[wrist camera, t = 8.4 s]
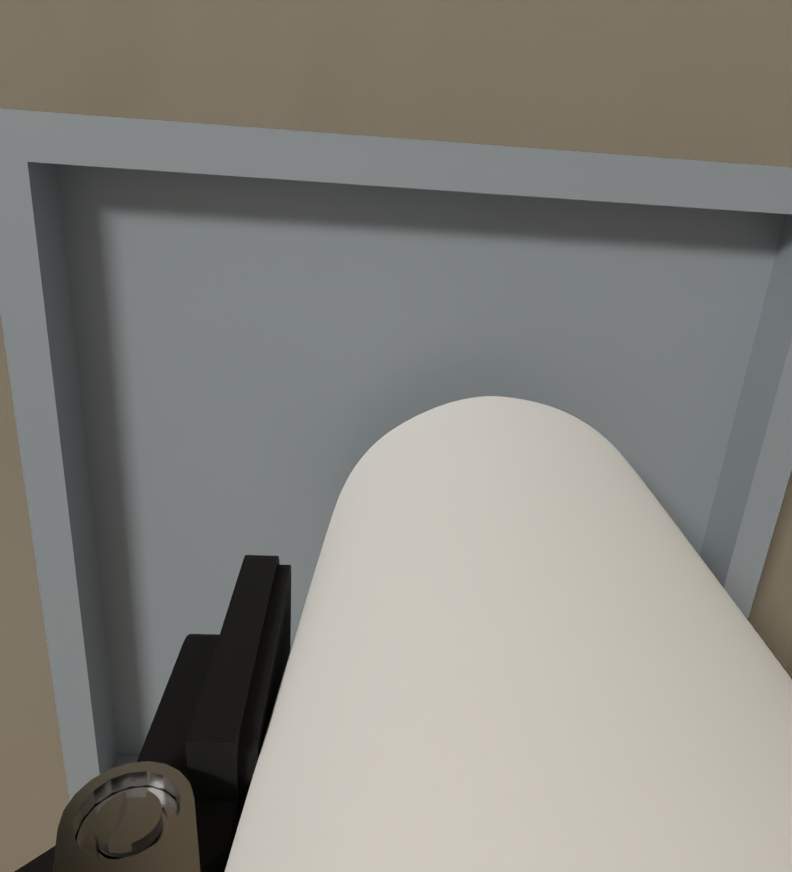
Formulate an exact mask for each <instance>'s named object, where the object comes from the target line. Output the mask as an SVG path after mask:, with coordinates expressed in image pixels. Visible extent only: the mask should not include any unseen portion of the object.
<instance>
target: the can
mask: <svg viewBox="0 0 792 872" xmlns="http://www.w3.org/2000/svg"><path fill="white" fill-rule="evenodd" d="M224 872H792V679H791V678H790V676H789V675H788V674H787V672H786V671H785V670H784V668H783V667H782V666H781V664H780V663H779V662H778V660H777V659H776V658H775V656H774V655H773V654H772V652H771V651H770V650H769V648H768V647H767V645H766V644H765V643H764V641H763V640H762V639H761V637H760V636H759V635H758V633H757V632H756V631H755V629H754V628H753V627H752V625H751V624H750V623H749V621H748V620H747V619H746V617H745V616H744V615H743V613H742V612H741V611H740V609H739V608H738V607H737V605H736V604H735V603H734V601H733V600H732V599H731V597H730V596H729V595H728V593H727V592H726V591H725V589H724V588H723V587H722V585H721V584H720V583H719V581H718V580H717V579H716V577H715V576H714V575H713V573H712V572H711V571H710V569H709V568H708V567H707V565H706V564H705V563H704V561H703V560H702V559H701V557H700V556H699V555H698V553H697V552H696V551H695V549H694V548H693V547H692V545H691V544H690V543H689V541H688V540H687V539H686V537H685V536H684V535H683V533H682V532H681V531H680V529H679V528H678V527H677V525H676V524H675V523H674V521H673V520H672V519H671V517H670V516H669V515H668V513H667V512H666V511H665V509H664V508H663V507H662V505H661V504H660V503H659V501H658V500H657V499H656V497H655V496H654V495H653V493H652V492H651V491H650V490H649V488H648V487H647V486H646V484H645V483H644V482H643V480H642V479H641V478H640V477H639V475H638V474H637V473H636V471H635V470H634V469H633V468H632V466H631V465H630V464H629V463H628V462H627V460H626V459H625V458H624V457H623V456H622V454H621V453H620V452H619V451H618V450H617V449H616V448H615V447H614V446H613V445H612V444H611V443H610V442H609V441H608V440H607V439H606V438H605V437H604V436H602V435H601V434H600V433H599V432H597V431H596V430H595V429H593V428H592V427H591V426H589V425H588V424H586V423H585V422H583V421H581V420H580V419H578V418H576V417H574V416H572V415H570V414H568V413H566V412H564V411H561V410H559V409H556V408H554V407H551V406H548V405H545V404H541V403H537V402H533V401H528V400H523V399H517V398H510V397H501V396H482V397H473V398H467V399H462V400H458V401H454V402H450V403H447V404H444V405H441V406H438V407H436V408H433V409H431V410H428V411H426V412H424V413H422V414H419V415H417V416H415V417H413V418H411V419H410V420H408V421H406V422H404V423H402V424H401V425H399V426H397V427H396V428H394V429H393V430H391V431H390V432H388V433H387V434H386V435H384V436H383V437H382V438H380V439H379V440H378V441H377V442H376V443H375V444H374V445H373V446H372V447H371V448H370V449H369V450H368V451H367V452H366V453H365V454H364V455H363V457H362V458H361V459H360V460H359V462H358V463H357V464H356V466H355V467H354V469H353V470H352V472H351V474H350V475H349V477H348V479H347V481H346V483H345V485H344V487H343V489H342V491H341V493H340V495H339V498H338V500H337V503H336V506H335V509H334V512H333V514H332V518H331V521H330V524H329V527H328V530H327V533H326V536H325V539H324V543H323V546H322V549H321V552H320V556H319V559H318V562H317V565H316V569H315V572H314V575H313V578H312V582H311V585H310V588H309V591H308V595H307V598H306V601H305V605H304V608H303V611H302V614H301V618H300V621H299V624H298V628H297V631H296V634H295V638H294V641H293V644H292V647H291V651H290V654H289V657H288V661H287V664H286V667H285V671H284V674H283V677H282V681H281V684H280V687H279V691H278V694H277V697H276V701H275V704H274V707H273V711H272V714H271V717H270V721H269V724H268V727H267V731H266V734H265V737H264V741H263V744H262V747H261V751H260V754H259V758H258V761H257V764H256V768H255V771H254V774H253V777H252V781H251V784H250V787H249V791H248V794H247V797H246V801H245V804H244V807H243V811H242V814H241V818H240V821H239V824H238V828H237V831H236V834H235V838H234V841H233V844H232V848H231V851H230V855H229V858H228V861H227V865H226V868H225V871H224Z"/></svg>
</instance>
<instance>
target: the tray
mask: <svg viewBox="0 0 792 872" xmlns="http://www.w3.org/2000/svg"><path fill="white" fill-rule="evenodd" d="M0 313H1V320H2V327H3V334H4V341H5V348H6V355H7V363H8V370H9V377H10V384H11V391H12V398H13V405H14V412H15V419H16V426H17V433H18V440H19V448H20V455H21V462H22V469H23V476H24V483H25V490H26V497H27V504H28V511H29V518H30V525H31V533H32V540H33V547H34V554H35V561H36V568H37V575H38V582H39V589H40V596H41V603H42V611H43V618H44V625H45V632H46V639H47V646H48V653H49V660H50V667H51V674H52V681H53V688H54V696H55V703H56V710H57V717H58V724H59V731H60V738H61V745H62V752H63V759H64V766H65V773H66V781H67V788H68V795H69V802H70V801H71V799H72V798H73V796H74V795H75V794H76V793H77V792H78V791H79V790H80V789H81V788H82V787H83V786H85V785H86V784H87V783H88V782H89V781H90V780H92V779H93V778H95V777H97V776H99V775H100V774H102V773H104V772H106V771H107V770H109V769H112V768H115V767H118V766H121V765H124V764H127V763H134V762H137V760H138V757H139V755H140V752H141V750H142V747H143V745H144V742H145V739H146V737H147V734H148V732H149V729H150V727H151V724H152V721H153V719H154V716H155V714H156V711H157V709H158V706H159V703H160V701H161V698H162V696H163V693H164V691H165V688H166V686H167V683H168V680H169V678H170V675H171V673H172V670H173V668H174V665H175V662H176V660H177V657H178V655H179V652H180V650H181V647H182V644H183V642H184V640H185V638H186V636H187V635H189V634H220V632H221V629H222V626H223V622H224V619H225V616H226V613H227V610H228V607H229V603H230V600H231V597H232V594H233V591H234V588H235V584H236V581H237V578H238V575H239V572H240V569H241V565H242V562H243V559H244V557H245V555H268V556H279V564H280V565H291V647H292V644H293V641H294V638H295V634H296V631H297V628H298V624H299V621H300V618H301V614H302V611H303V608H304V605H305V601H306V598H307V595H308V591H309V588H310V585H311V582H312V578H313V575H314V572H315V569H316V565H317V562H318V559H319V556H320V552H321V549H322V546H323V543H324V539H325V536H326V533H327V530H328V527H329V524H330V521H331V518H332V514H333V512H334V509H335V506H336V503H337V500H338V498H339V495H340V493H341V491H342V489H343V487H344V485H345V483H346V481H347V479H348V477H349V475H350V474H351V472H352V470H353V469H354V467H355V466H356V464H357V463H358V462H359V460H360V459H361V458H362V457H363V455H364V454H365V453H366V452H367V451H368V450H369V449H370V448H371V447H372V446H373V445H374V444H375V443H376V442H377V441H378V440H379V439H380V438H382V437H383V436H384V435H386V434H387V433H388V432H390V431H391V430H393V429H394V428H396V427H397V426H399V425H401V424H402V423H404V422H406V421H408V420H410V419H411V418H413V417H415V416H417V415H419V414H422V413H424V412H426V411H428V410H431V409H433V408H436V407H438V406H441V405H444V404H447V403H450V402H454V401H458V400H462V399H467V398H473V397H482V396H501V397H510V398H517V399H523V400H528V401H533V402H537V403H541V404H545V405H548V406H551V407H554V408H556V409H559V410H561V411H564V412H566V413H568V414H570V415H572V416H574V417H576V418H578V419H580V420H581V421H583V422H585V423H586V424H588V425H589V426H591V427H592V428H593V429H595V430H596V431H597V432H599V433H600V434H601V435H602V436H604V437H605V438H606V439H607V440H608V441H609V442H610V443H611V444H612V445H613V446H614V447H615V448H616V449H617V450H618V451H619V452H620V453H621V454H622V456H623V457H624V458H625V459H626V460H627V462H628V463H629V464H630V465H631V466H632V468H633V469H634V470H635V471H636V473H637V474H638V475H639V477H640V478H641V479H642V480H643V482H644V483H645V484H646V486H647V487H648V488H649V490H650V491H651V492H652V493H653V495H654V496H655V497H656V499H657V500H658V501H659V503H660V504H661V505H662V507H663V508H664V509H665V511H666V512H667V513H668V515H669V516H670V517H671V519H672V520H673V521H674V523H675V524H676V525H677V527H678V528H679V529H680V531H681V532H682V533H683V535H684V536H685V537H686V539H687V540H688V541H689V543H690V544H691V545H692V547H693V548H694V549H695V551H696V552H697V553H698V555H699V556H700V557H701V559H702V560H703V561H704V563H705V564H706V565H707V567H708V568H709V569H710V571H711V572H712V573H713V575H714V576H715V577H716V579H717V580H718V581H719V583H720V584H721V585H722V587H723V588H724V589H725V591H726V592H727V593H728V595H729V596H730V597H731V599H732V600H733V601H734V603H735V604H736V605H737V607H738V608H739V609H740V611H741V612H742V613H743V615H744V616H745V617H746V619H747V620H748V617H749V614H750V611H751V607H752V604H753V600H754V597H755V593H756V590H757V587H758V583H759V580H760V576H761V573H762V570H763V566H764V563H765V559H766V556H767V552H768V549H769V546H770V542H771V539H772V535H773V532H774V529H775V525H776V522H777V518H778V515H779V511H780V508H781V505H782V501H783V498H784V494H785V491H786V488H787V484H788V481H789V477H790V474H791V471H792V167H779V166H766V165H752V164H739V163H725V162H712V161H698V160H685V159H671V158H658V157H644V156H631V155H617V154H604V153H590V152H577V151H563V150H550V149H536V148H523V147H509V146H496V145H482V144H469V143H455V142H442V141H429V140H415V139H402V138H388V137H375V136H361V135H348V134H334V133H321V132H307V131H294V130H280V129H267V128H253V127H240V126H226V125H213V124H199V123H186V122H172V121H159V120H145V119H132V118H118V117H105V116H91V115H78V114H64V113H51V112H38V111H24V110H11V109H0ZM290 651H291V648H290Z"/></svg>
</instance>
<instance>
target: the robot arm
mask: <svg viewBox="0 0 792 872" xmlns="http://www.w3.org/2000/svg"><path fill="white" fill-rule="evenodd" d="M290 648H291V565H280V564H279V556H268V555H245V557H244V559H243V562H242V565H241V569H240V572H239V575H238V578H237V581H236V584H235V588H234V591H233V594H232V597H231V600H230V603H229V607H228V610H227V613H226V616H225V619H224V622H223V626H222V629H221V632H220V634H189V635H187V636H186V638H185V640H184V642H183V644H182V647H181V650H180V652H179V655H178V657H177V660H176V662H175V665H174V668H173V670H172V673H171V675H170V678H169V680H168V683H167V686H166V688H165V691H164V693H163V696H162V698H161V701H160V703H159V706H158V709H157V711H156V714H155V716H154V719H153V721H152V724H151V727H150V729H149V732H148V734H147V737H146V739H145V742H144V745H143V747H142V750H141V752H140V755H139V757H138V760H137V762H134V763H127V764H124V765H121V766H118V767H115V768H112V769H109V770H107V771H106V772H104V773H102V774H100V775H99V776H97V777H95V778H93V779H92V780H90V781H89V782H88V783H87V784H86V785H85V786H83V787H82V788H81V789H80V790H79V791H78V792H77V793H76V794H75V795H74V796H73V798H72V799H71V801H70V802H69V803H68V805H67V806H66V808H65V809H64V811H63V814H62V817H61V820H60V823H59V826H58V830H57V838H56V846H54V847H53V848H51V849H50V850H48V851H46V852H45V853H43V854H42V855H40V856H39V857H37V858H35V859H34V860H32V861H31V862H29V863H28V864H26V865H24V866H23V867H21V868H20V869H18V870H17V871H15V872H224V871H225V868H226V865H227V861H228V858H229V855H230V851H231V848H232V844H233V841H234V838H235V834H236V831H237V828H238V824H239V821H240V818H241V814H242V811H243V807H244V804H245V801H246V797H247V794H248V791H249V787H250V784H251V781H252V777H253V774H254V771H255V768H256V764H257V761H258V758H259V754H260V751H261V747H262V744H263V741H264V737H265V734H266V731H267V727H268V724H269V721H270V717H271V714H272V711H273V707H274V704H275V701H276V697H277V694H278V691H279V687H280V684H281V681H282V677H283V674H284V671H285V667H286V664H287V661H288V657H289V654H290Z"/></svg>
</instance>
